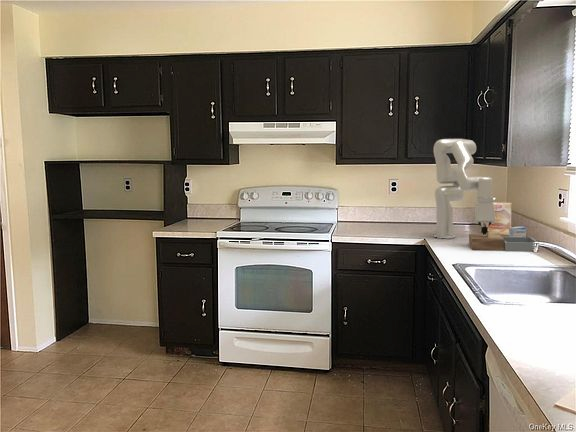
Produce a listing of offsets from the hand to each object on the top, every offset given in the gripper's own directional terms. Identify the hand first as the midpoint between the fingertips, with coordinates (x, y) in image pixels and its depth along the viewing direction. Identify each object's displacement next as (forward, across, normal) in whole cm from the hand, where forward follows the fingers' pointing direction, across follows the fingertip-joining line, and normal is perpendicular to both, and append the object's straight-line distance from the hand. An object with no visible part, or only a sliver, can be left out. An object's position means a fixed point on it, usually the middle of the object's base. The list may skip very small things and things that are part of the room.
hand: (484, 234), depth 267 cm
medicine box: (+8, -20, -19) cm, 29 cm away
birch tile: (+1, -5, 0) cm, 5 cm away
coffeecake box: (+8, -13, -50) cm, 53 cm away
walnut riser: (+8, -1, 0) cm, 8 cm away
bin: (+8, -17, 0) cm, 19 cm away
